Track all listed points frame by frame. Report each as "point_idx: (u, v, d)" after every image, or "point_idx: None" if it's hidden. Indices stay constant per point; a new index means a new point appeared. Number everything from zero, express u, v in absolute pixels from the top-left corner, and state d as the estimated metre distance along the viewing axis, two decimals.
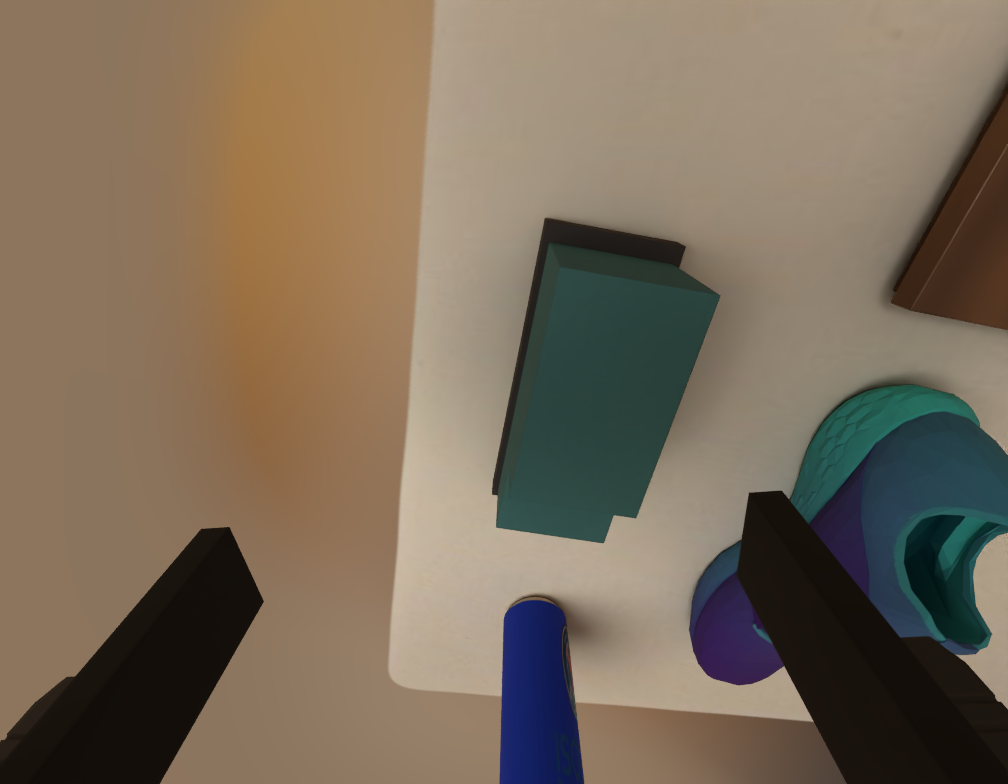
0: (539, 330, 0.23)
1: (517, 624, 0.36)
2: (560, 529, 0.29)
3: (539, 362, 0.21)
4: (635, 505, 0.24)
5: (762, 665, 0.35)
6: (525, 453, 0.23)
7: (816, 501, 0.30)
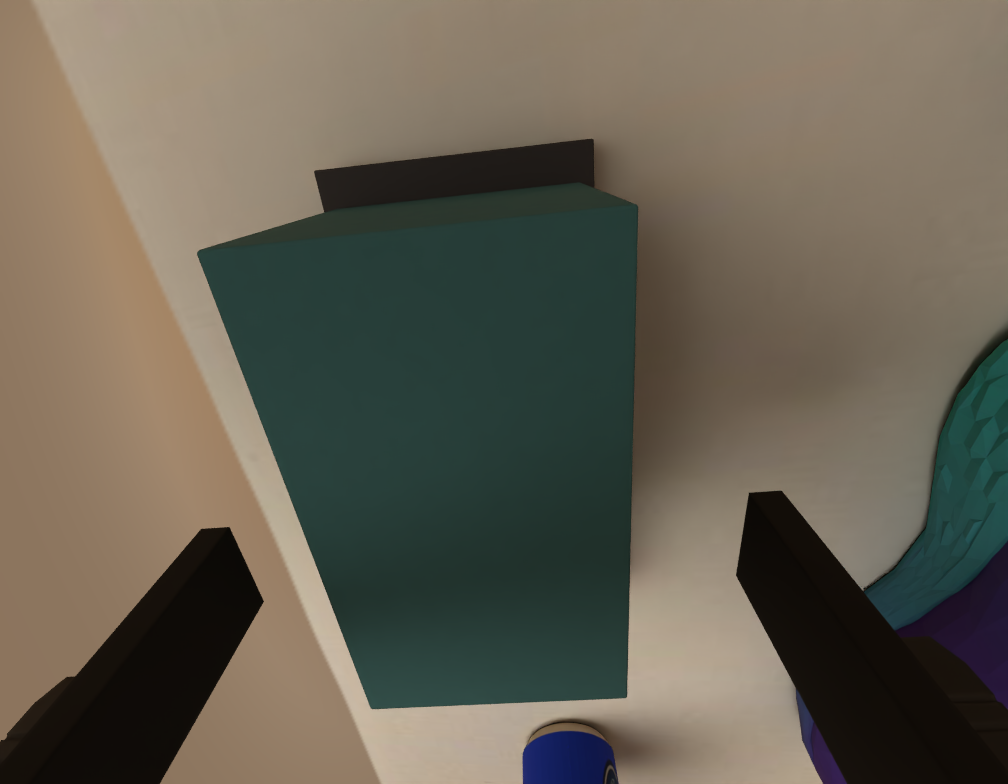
0: None
1: (534, 779, 0.24)
2: None
3: (282, 473, 0.09)
4: (615, 679, 0.12)
5: None
6: (356, 637, 0.11)
7: (984, 537, 0.16)
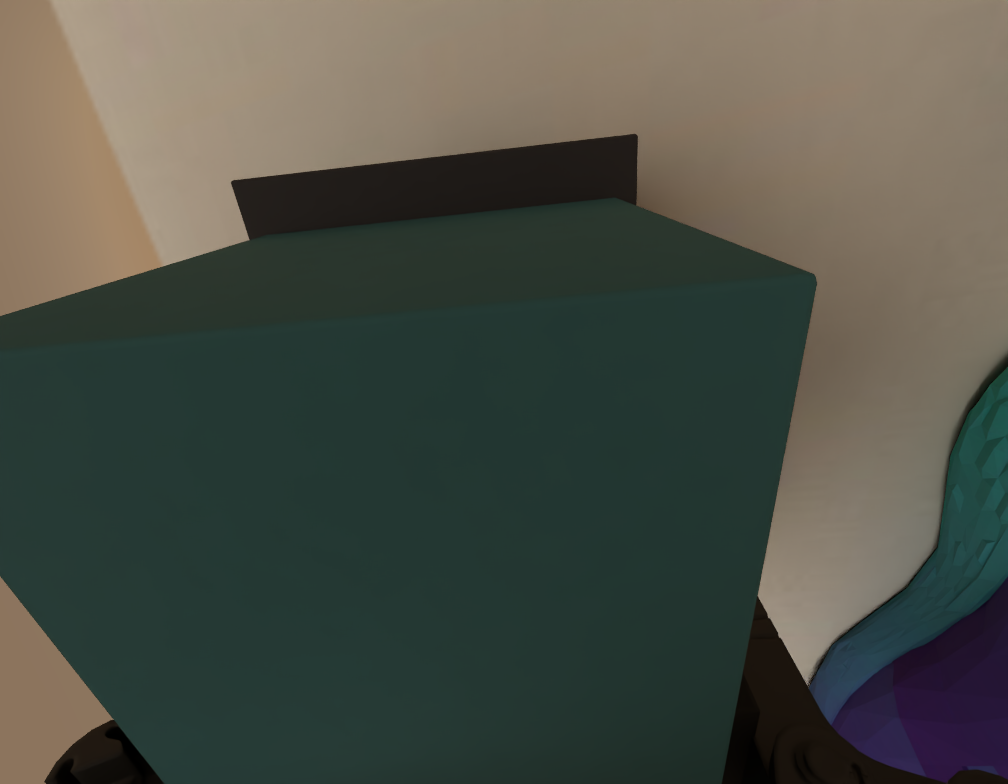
0: None
1: None
2: None
3: (115, 717, 0.05)
4: None
5: None
6: None
7: (997, 558, 0.16)
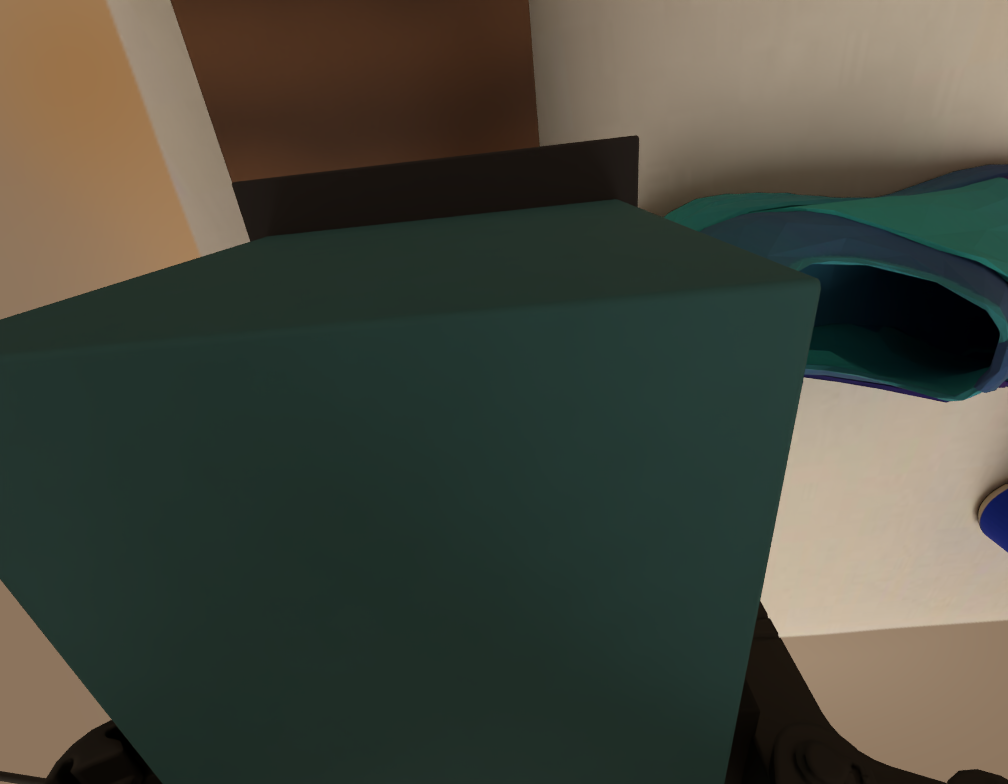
0: None
1: None
2: None
3: (115, 720, 0.05)
4: None
5: None
6: None
7: None
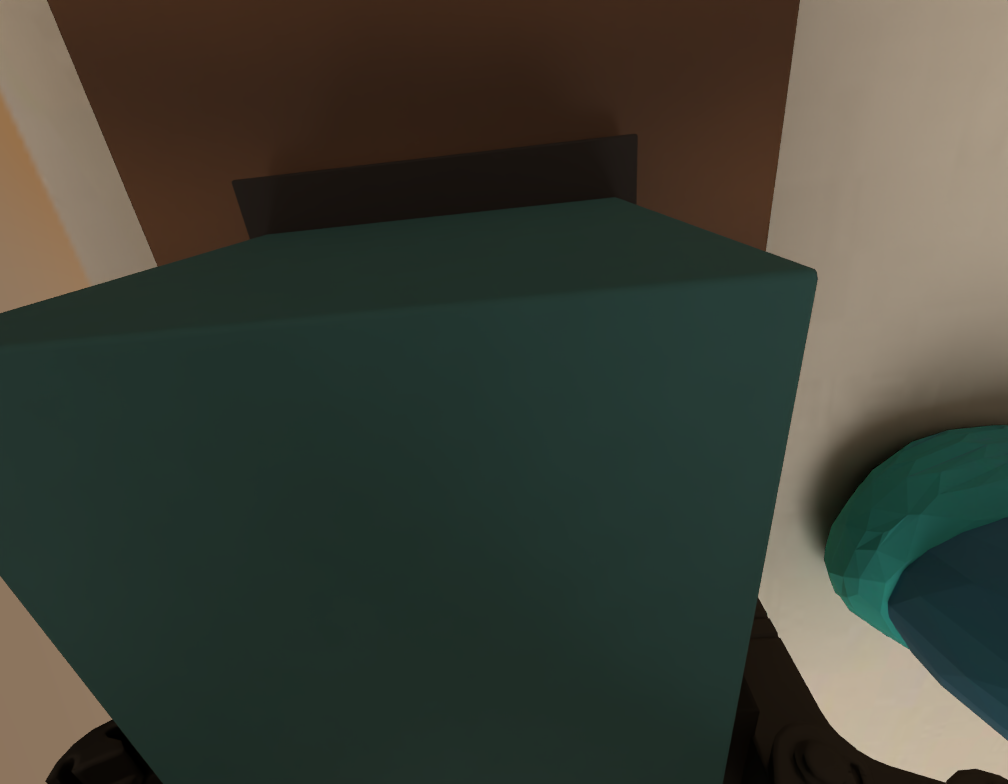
0: None
1: None
2: None
3: (113, 716, 0.05)
4: None
5: None
6: None
7: None
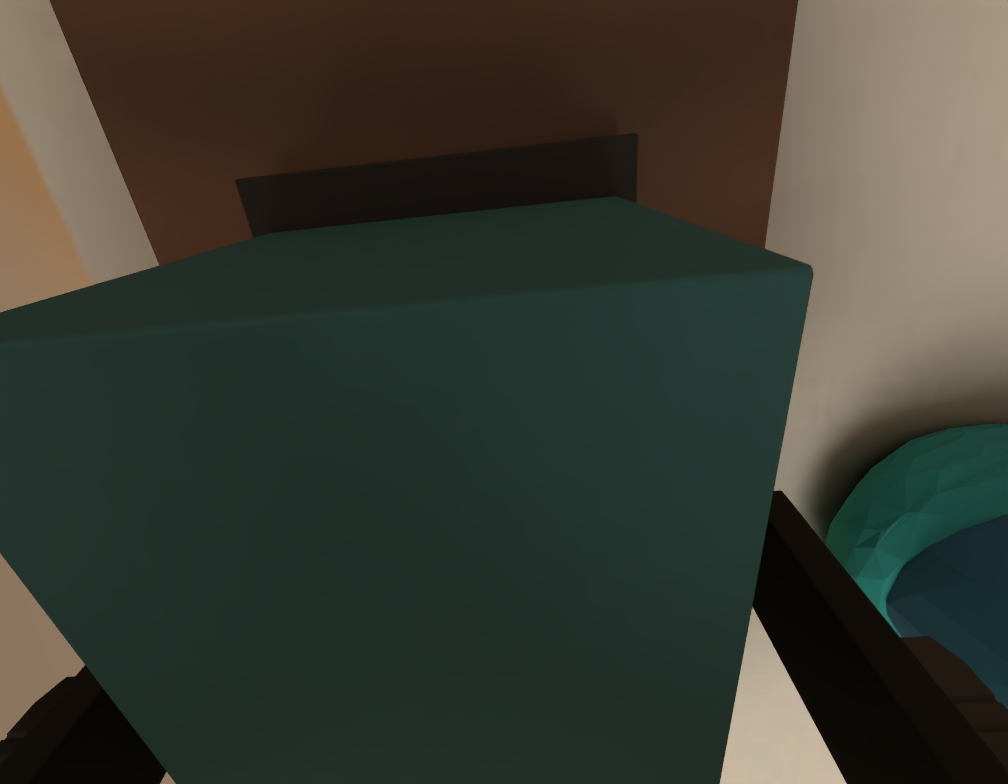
0: None
1: None
2: None
3: (120, 707, 0.05)
4: None
5: None
6: None
7: None
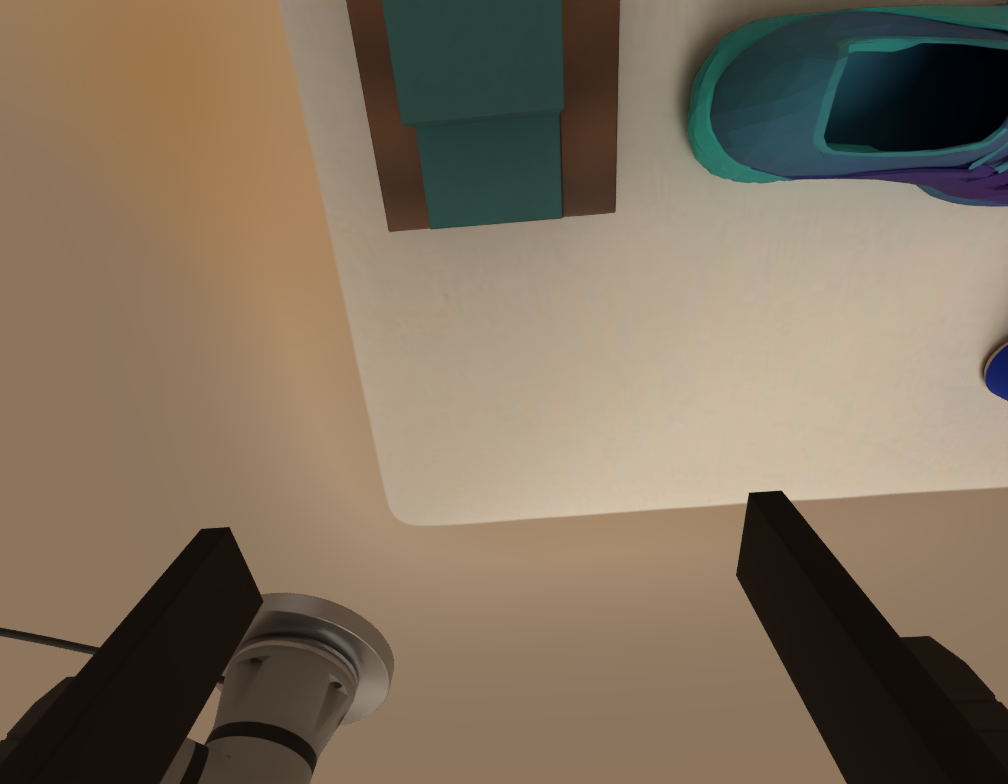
0: None
1: None
2: (504, 210, 0.24)
3: None
4: (556, 84, 0.19)
5: None
6: (395, 37, 0.18)
7: None
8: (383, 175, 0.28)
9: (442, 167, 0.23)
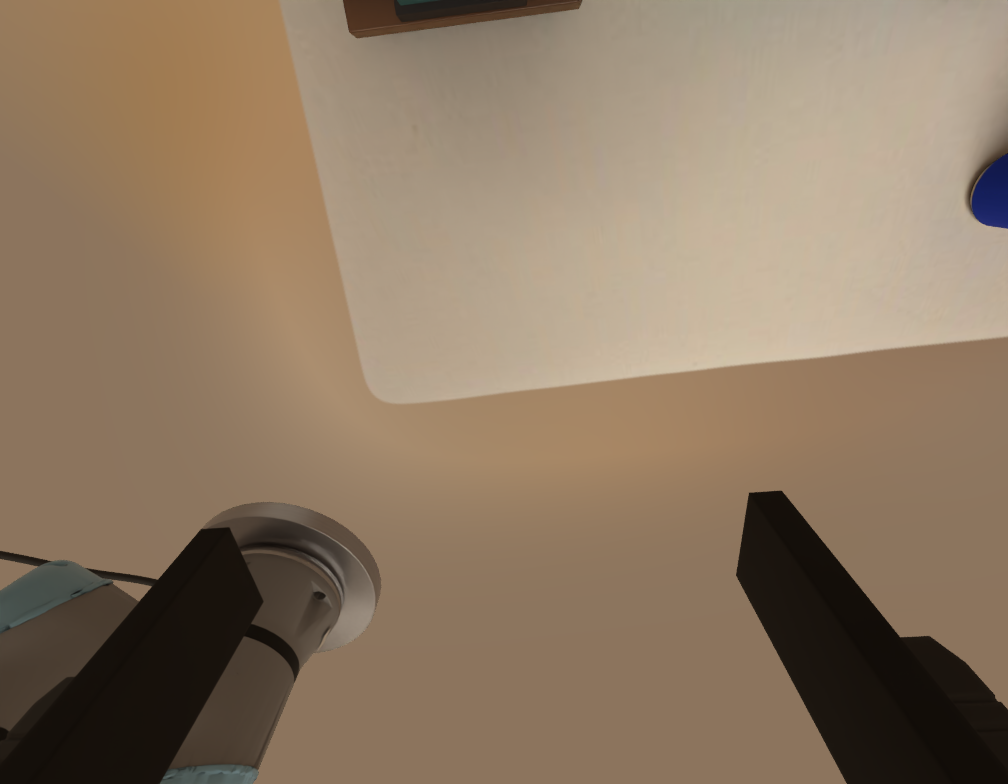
0: None
1: (1000, 221, 0.33)
2: None
3: None
4: None
5: None
6: None
7: None
8: None
9: None
